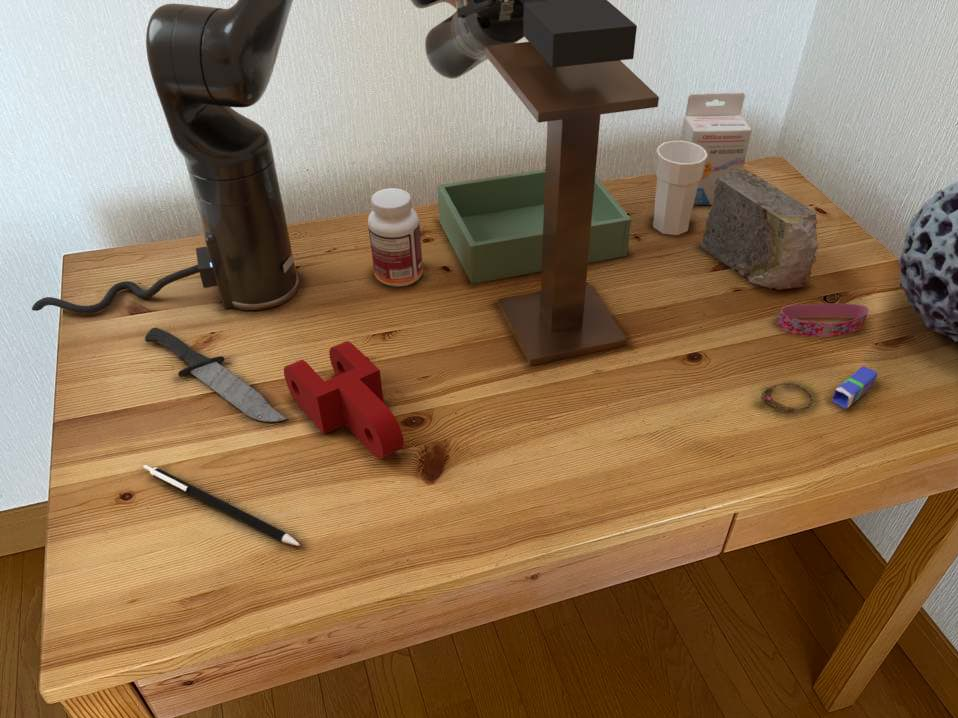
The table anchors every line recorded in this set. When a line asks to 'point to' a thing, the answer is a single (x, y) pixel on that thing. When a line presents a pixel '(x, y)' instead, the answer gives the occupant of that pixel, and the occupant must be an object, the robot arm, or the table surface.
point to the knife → (217, 377)
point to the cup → (677, 184)
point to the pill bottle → (395, 238)
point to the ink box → (716, 137)
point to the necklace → (768, 399)
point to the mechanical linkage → (347, 399)
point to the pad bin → (518, 224)
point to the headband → (822, 310)
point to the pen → (222, 505)
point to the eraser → (854, 387)
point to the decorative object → (933, 262)
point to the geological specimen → (761, 232)
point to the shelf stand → (566, 197)
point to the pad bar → (578, 31)
